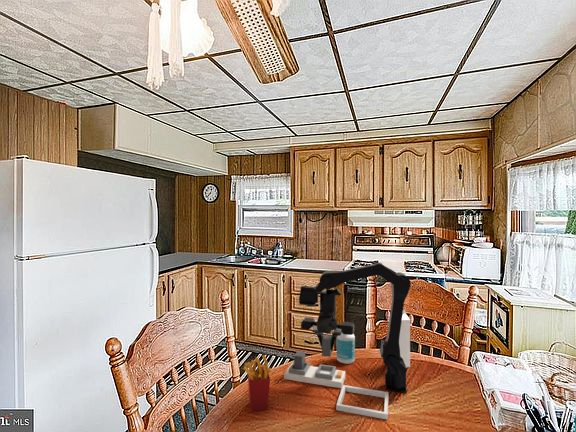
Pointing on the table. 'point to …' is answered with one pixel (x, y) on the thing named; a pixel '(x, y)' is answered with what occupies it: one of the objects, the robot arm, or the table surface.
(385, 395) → the white square frame
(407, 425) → the table surface
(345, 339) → the pill bottle
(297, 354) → the plug
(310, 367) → the power strip
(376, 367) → the table surface
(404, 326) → the milk
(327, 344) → the plug
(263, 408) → the french fries
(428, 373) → the table surface
